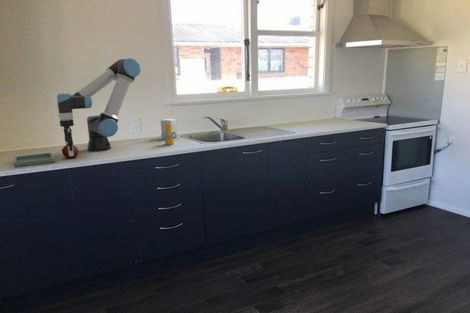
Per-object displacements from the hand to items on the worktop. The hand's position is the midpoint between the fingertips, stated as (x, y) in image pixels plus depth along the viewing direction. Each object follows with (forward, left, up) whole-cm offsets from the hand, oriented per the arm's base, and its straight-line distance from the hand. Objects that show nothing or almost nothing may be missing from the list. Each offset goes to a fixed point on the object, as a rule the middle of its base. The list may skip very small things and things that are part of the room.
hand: (70, 154), depth 227 cm
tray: (+20, -2, -3) cm, 20 cm away
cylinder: (-66, -6, -3) cm, 67 cm away
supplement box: (-75, -30, -3) cm, 81 cm away
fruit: (0, 0, -3) cm, 3 cm away
